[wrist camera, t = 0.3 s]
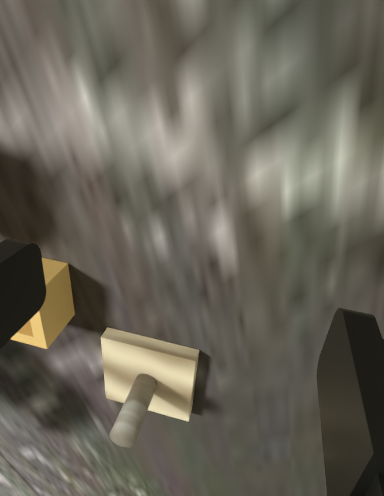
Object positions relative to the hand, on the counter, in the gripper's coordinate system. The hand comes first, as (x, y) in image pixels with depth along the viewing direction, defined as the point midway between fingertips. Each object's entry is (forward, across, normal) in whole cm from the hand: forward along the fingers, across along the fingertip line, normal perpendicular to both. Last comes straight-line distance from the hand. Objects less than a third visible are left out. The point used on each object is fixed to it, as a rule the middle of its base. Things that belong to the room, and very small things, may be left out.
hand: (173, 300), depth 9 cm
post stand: (+19, +7, +25) cm, 32 cm away
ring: (+18, +19, +16) cm, 30 cm away
